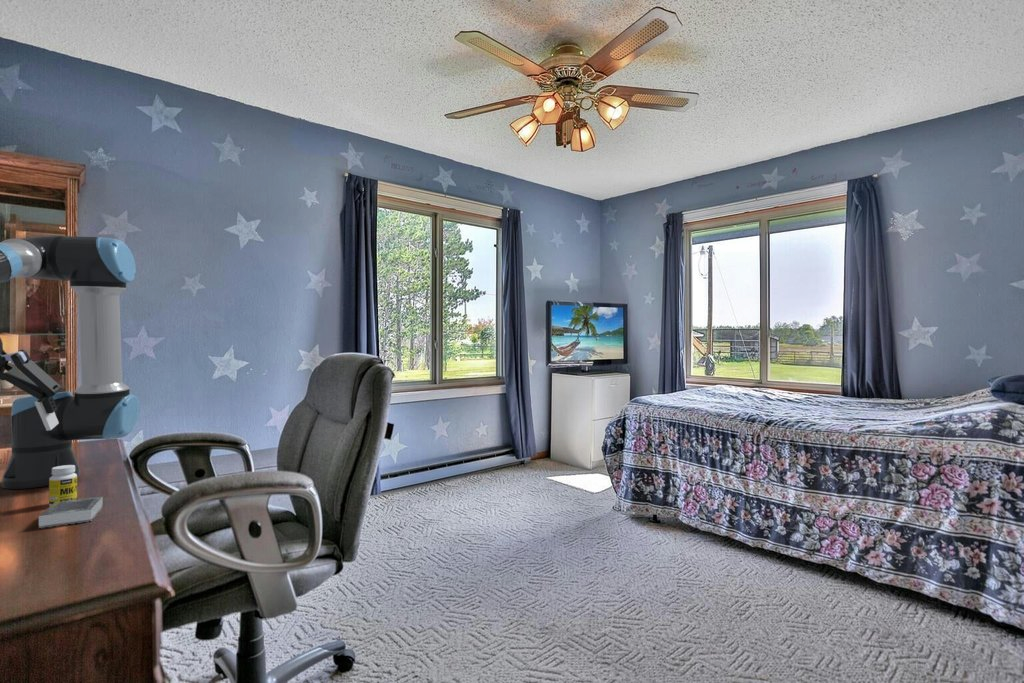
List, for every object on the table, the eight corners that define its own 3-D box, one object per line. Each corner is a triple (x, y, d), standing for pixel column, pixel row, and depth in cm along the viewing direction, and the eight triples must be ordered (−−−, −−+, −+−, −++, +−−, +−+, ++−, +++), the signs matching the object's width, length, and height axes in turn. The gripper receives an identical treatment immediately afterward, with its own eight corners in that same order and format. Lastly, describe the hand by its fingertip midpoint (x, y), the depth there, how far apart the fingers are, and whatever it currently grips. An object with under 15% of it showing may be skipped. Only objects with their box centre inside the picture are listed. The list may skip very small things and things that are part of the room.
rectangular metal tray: (55, 513, 107) (55, 502, 107) (102, 507, 111) (102, 496, 111) (38, 528, 98) (38, 516, 98) (90, 521, 102) (90, 509, 102)
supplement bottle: (60, 507, 111) (60, 469, 111) (43, 506, 112) (43, 468, 112) (82, 501, 116) (82, 464, 116) (66, 499, 117) (66, 463, 117)
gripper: (-139, 346, 85) (-81, 451, 93) (34, 332, 90) (75, 432, 98) (-100, 330, 92) (-49, 429, 100) (58, 318, 97) (95, 413, 105)
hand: (12, 431), depth 99 cm, fingers open, 13 cm apart
